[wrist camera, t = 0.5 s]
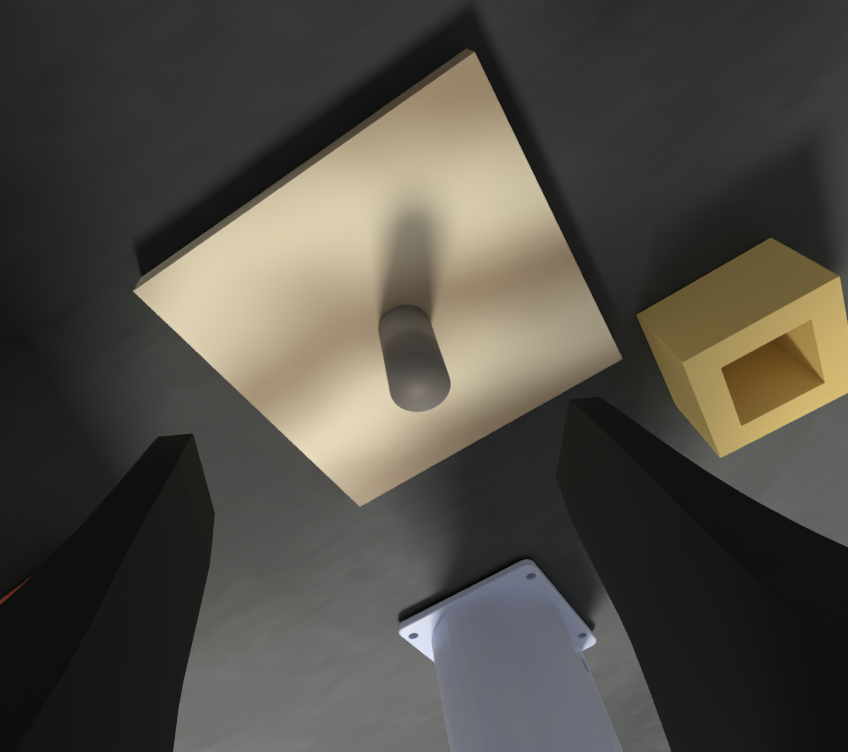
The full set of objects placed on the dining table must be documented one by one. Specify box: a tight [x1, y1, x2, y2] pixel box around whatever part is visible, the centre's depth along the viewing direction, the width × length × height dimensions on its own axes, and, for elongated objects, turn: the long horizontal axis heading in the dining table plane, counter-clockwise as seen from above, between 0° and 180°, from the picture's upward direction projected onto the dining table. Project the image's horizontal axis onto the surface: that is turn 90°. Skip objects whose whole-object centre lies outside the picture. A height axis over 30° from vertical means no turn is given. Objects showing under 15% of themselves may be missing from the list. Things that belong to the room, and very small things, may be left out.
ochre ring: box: [636, 238, 848, 458], centre depth 22 cm, size 5×5×3 cm
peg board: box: [134, 48, 622, 506], centre depth 19 cm, size 12×12×4 cm
